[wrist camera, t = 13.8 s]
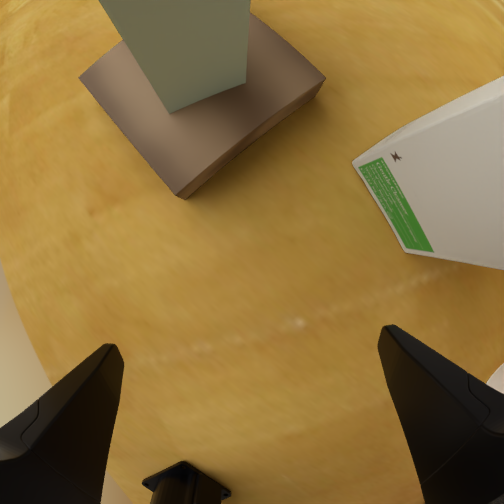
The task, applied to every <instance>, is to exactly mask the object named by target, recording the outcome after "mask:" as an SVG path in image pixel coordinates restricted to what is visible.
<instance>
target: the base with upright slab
mask: <svg viewBox="0 0 504 504" xmlns="http://www.w3.org/2000/svg"><path fill="white" fill-rule="evenodd" d="M486 384H487V385H488V386H490V387H492V388H494V389H496V390H497V391H499V392H501V393H503V394H504V363H503V364H502V365H501V366H500V367H499V368H498V369H497V370H496V371H495V372H494V373H493V375H492V376H491V377H490V378H489V380H488V381H487V383H486Z"/></svg>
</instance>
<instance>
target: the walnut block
mask: <svg viewBox="0 0 504 504" xmlns="http://www.w3.org/2000/svg"><path fill="white" fill-rule="evenodd" d="M78 78H79V79H80V80H81V82H82V83H83V84H84V85H85V87H86V88H87V89H88V90H89V92H90V93H91V94H92V95H93V97H94V98H95V99H96V100H97V102H98V103H99V104H100V105H101V107H102V108H103V109H104V110H105V112H106V113H107V114H108V115H109V116H110V118H111V119H112V120H113V121H114V123H115V124H116V125H117V126H118V127H119V129H120V130H121V131H122V132H123V134H124V135H125V136H126V137H127V138H128V140H129V141H130V142H131V143H132V144H133V146H134V147H135V148H136V149H137V150H138V152H139V153H140V154H141V155H142V156H143V158H144V159H145V160H146V161H147V162H148V164H149V165H150V166H151V167H152V168H153V170H154V171H155V172H156V173H157V174H158V176H159V177H160V178H161V179H162V180H163V181H164V183H165V184H166V185H167V186H168V187H169V189H170V190H171V191H172V192H173V193H174V194H175V195H176V196H178V197H180V198H181V199H183V200H185V199H187V198H188V197H189V196H190V195H191V194H192V193H193V192H194V191H196V190H197V189H198V188H199V187H200V186H201V185H202V184H204V183H205V182H206V181H207V180H208V179H209V178H211V177H212V176H213V175H214V174H215V173H216V172H218V171H219V170H220V169H221V168H222V167H224V166H225V165H226V164H227V163H228V162H230V161H231V160H232V159H233V158H234V157H236V156H237V155H238V154H239V153H241V152H242V151H243V150H244V149H246V148H247V147H248V146H249V145H251V144H252V143H253V142H254V141H256V140H257V139H258V138H260V137H261V136H262V135H263V134H265V133H266V132H267V131H269V130H270V129H271V128H272V127H274V126H275V125H276V124H278V123H279V122H280V121H282V120H283V119H284V118H286V117H287V116H288V115H290V114H291V113H293V112H294V111H295V110H297V109H298V108H299V107H301V106H302V105H304V104H305V103H306V102H308V101H309V100H311V99H312V98H313V97H315V96H316V94H317V93H318V91H319V89H320V87H321V86H322V84H323V82H324V81H325V79H326V77H325V76H324V75H323V74H322V73H321V72H320V71H318V70H317V69H316V68H315V67H314V66H313V65H312V64H311V63H310V62H309V61H308V60H307V59H306V58H305V57H304V56H303V55H301V54H300V53H299V52H298V51H297V50H296V49H295V48H294V47H292V46H291V45H290V44H289V43H288V42H287V41H286V40H284V39H283V38H282V37H281V36H280V35H278V34H277V33H276V32H275V31H274V30H272V29H271V28H270V27H269V26H267V25H266V24H265V23H264V22H262V21H261V20H260V19H258V18H257V17H256V16H254V15H253V14H252V13H250V16H249V33H248V50H247V68H246V83H244V84H241V85H238V86H235V87H233V88H230V89H227V90H225V91H222V92H220V93H217V94H214V95H212V96H209V97H207V98H205V99H202V100H200V101H197V102H195V103H193V104H190V105H188V106H186V107H184V108H181V109H179V110H177V111H175V112H173V113H170V114H169V113H168V111H167V110H166V108H165V107H164V105H163V103H162V102H161V100H160V98H159V97H158V95H157V94H156V92H155V90H154V89H153V87H152V85H151V84H150V82H149V81H148V79H147V77H146V76H145V74H144V73H143V71H142V69H141V68H140V66H139V64H138V63H137V61H136V60H135V58H134V56H133V55H132V53H131V52H130V50H129V48H128V47H127V45H126V43H125V42H124V40H122V41H121V42H119V43H118V44H117V45H116V46H114V47H113V48H112V49H110V50H109V51H108V52H107V53H106V54H104V55H103V56H102V57H101V58H100V59H98V60H97V61H96V62H95V63H94V64H93V65H92V66H90V67H89V68H88V69H87V70H86V71H85V72H84V73H83V74H82V75H81V76H80V77H78Z"/></svg>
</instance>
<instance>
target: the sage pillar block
mask: <svg viewBox="0 0 504 504" xmlns="http://www.w3.org/2000/svg"><path fill="white" fill-rule="evenodd" d="M99 2H100V3H101V5H102V6H103V8H104V10H105V11H106V13H107V14H108V16H109V18H110V19H111V21H112V22H113V24H114V26H115V27H116V29H117V31H118V32H119V34H120V35H121V37H122V39H123V40H124V42H125V43H126V45H127V47H128V48H129V50H130V52H131V53H132V55H133V56H134V58H135V60H136V61H137V63H138V64H139V66H140V68H141V69H142V71H143V73H144V74H145V76H146V77H147V79H148V81H149V82H150V84H151V85H152V87H153V89H154V90H155V92H156V94H157V95H158V97H159V98H160V100H161V102H162V103H163V105H164V107H165V108H166V110H167V111H168V113H169V114H170V113H173V112H175V111H177V110H179V109H181V108H184V107H186V106H188V105H190V104H193V103H195V102H197V101H200V100H202V99H205V98H207V97H209V96H212V95H214V94H217V93H220V92H222V91H225V90H227V89H230V88H233V87H235V86H238V85H241V84H244V83H246V68H247V50H248V33H249V16H250V0H99Z"/></svg>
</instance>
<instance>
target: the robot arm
mask: <svg viewBox="0 0 504 504" xmlns="http://www.w3.org/2000/svg"><path fill="white" fill-rule="evenodd" d="M378 352H379V355H380V359H381V363H382V367H383V371H384V375H385V378H386V382H387V386H388V389H389V392H390V394H391V397H392V400H393V403H394V405H395V408H396V411H397V414H398V416H399V419H400V422H401V425H402V428H403V431H404V434H405V437H406V440H407V443H408V446H409V449H410V452H411V455H412V458H413V462H414V465H415V468H416V472H417V475H418V478H419V482H420V484H421V489H422V493H423V497H424V500H425V504H504V394H503V393H501V392H499V391H497V390H496V389H494V388H492V387H490V386H488V385H487V384H485V383H484V382H482V381H480V380H479V379H477V378H476V377H474V376H473V375H471V374H470V373H468V374H467V372H466V371H465V370H463V369H462V368H460V367H459V366H457V365H456V364H454V363H453V362H451V361H450V360H448V359H447V358H445V357H444V356H442V355H441V354H439V353H438V352H436V351H435V350H433V349H431V348H430V347H428V346H427V345H425V344H424V343H422V342H421V341H419V340H418V339H416V338H415V337H413V336H411V335H410V334H408V333H407V332H405V331H404V330H402V329H401V328H399V327H398V326H396V325H393V324H392V325H386V326H383V328H382V330H381V333H380V337H379V341H378ZM123 371H124V361H123V358H122V356H121V354H120V352H119V350H118V347H117V346H116V345H115V344H108V343H106V344H103V345H102V346H101V347H100V348H98V349H97V350H96V351H95V352H94V353H92V354H91V355H90V356H89V357H87V358H86V359H85V360H84V361H83V362H81V363H80V364H79V365H78V366H77V367H75V368H74V369H73V370H72V371H71V372H69V373H68V374H67V375H66V376H65V377H63V378H62V379H61V380H60V381H59V382H57V383H56V384H55V385H54V386H53V387H52V388H50V389H49V390H48V391H47V392H46V393H45V394H43V395H42V396H41V397H40V398H39V399H38V400H36V401H35V402H34V403H33V404H32V405H30V406H29V407H28V408H27V409H25V410H24V411H23V412H22V413H20V414H19V415H18V416H16V417H15V418H14V419H12V420H11V421H9V422H8V423H7V424H5V425H4V426H2V427H1V428H0V504H101V503H100V502H101V496H102V489H103V483H104V476H105V470H106V465H107V459H108V454H109V449H110V443H111V438H112V434H113V429H114V424H115V420H116V415H117V411H118V406H119V401H120V394H121V386H122V378H123ZM184 466H185V467H184ZM142 485H143V486H145V487H146V488H148V489H149V490H151V491H152V492H153V495H152V499H151V502H150V504H221V500H224V499H226V498H228V497H230V496H231V491H230V490H228V489H226V488H225V487H223V486H222V485H220V484H218V483H217V482H215V481H214V480H212V479H210V478H209V477H207V476H206V475H204V474H203V473H201V472H200V471H198V470H197V469H195V468H194V467H193V466H191V465H190V464H188V463H187V462H184V461H181V462H178V463H176V464H174V465H172V466H170V467H168V468H166V469H164V470H162V471H160V472H158V473H156V474H154V475H152V476H150V477H148V478H146V479H144V480H143V481H142Z"/></svg>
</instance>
